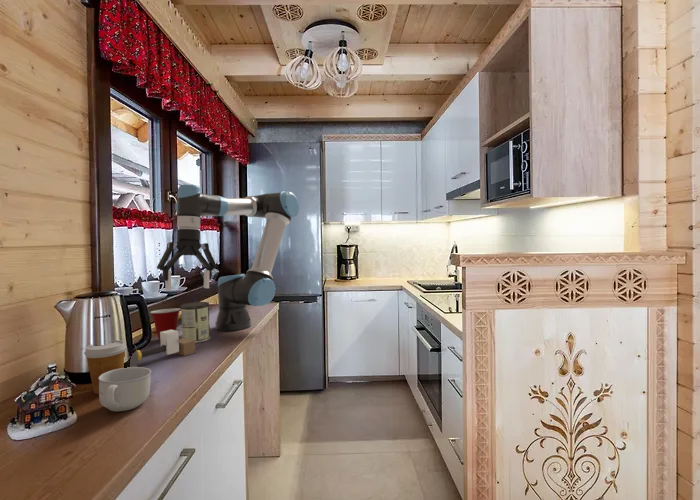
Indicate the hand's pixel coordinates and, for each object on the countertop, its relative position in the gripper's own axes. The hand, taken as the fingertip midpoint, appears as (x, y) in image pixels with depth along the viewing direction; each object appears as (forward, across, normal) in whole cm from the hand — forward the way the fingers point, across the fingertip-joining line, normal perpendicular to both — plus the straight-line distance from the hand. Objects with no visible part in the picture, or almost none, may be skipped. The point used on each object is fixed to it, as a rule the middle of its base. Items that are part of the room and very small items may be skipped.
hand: (187, 289), depth 134 cm
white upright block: (+21, -6, -1) cm, 22 cm away
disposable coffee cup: (+24, -28, -17) cm, 41 cm away
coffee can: (+21, +9, +13) cm, 27 cm away
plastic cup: (+22, +2, +23) cm, 32 cm away
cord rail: (+22, -10, -2) cm, 25 cm away
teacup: (+24, -30, -33) cm, 51 cm away
